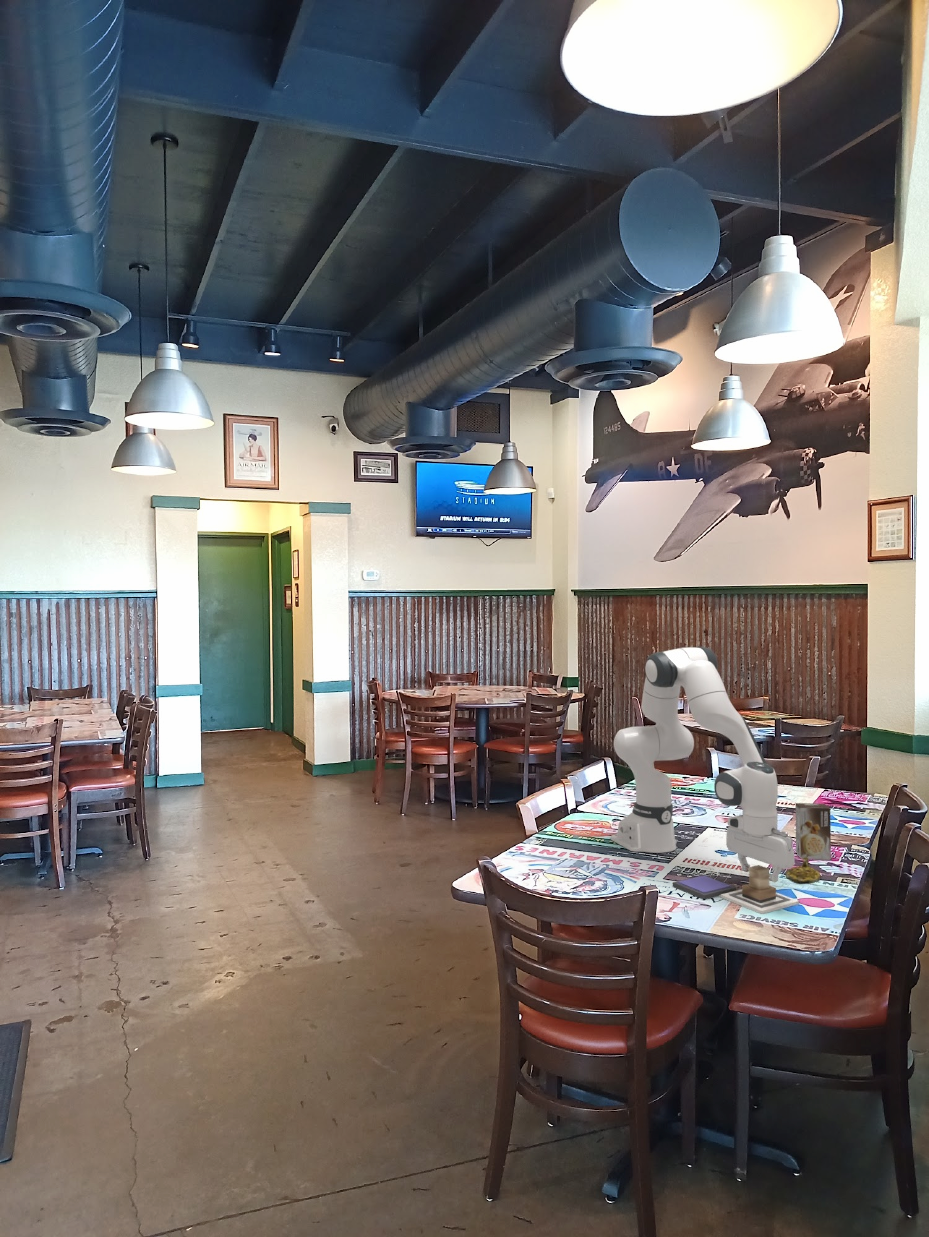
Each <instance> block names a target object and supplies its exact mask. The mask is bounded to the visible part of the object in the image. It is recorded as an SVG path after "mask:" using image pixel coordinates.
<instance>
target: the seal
mask: <svg viewBox="0 0 929 1237" xmlns="http://www.w3.org/2000/svg"><path fill="white" fill-rule="evenodd" d="M784 875H785V878H786V879H787V880H789V881H790V882H793V883H794V884H800V885H801V884H802V885H803V884H805V885H806V884H808V885H809V884H810V885H811V884H816V883H819V881H820V880H821V878H822V876H821V873H820V872H819V871H818V870H817V869H815V868H813V867H811V866H810V863H809V859H808V858H807V857H804V858H803V859H802V864H801V865H799V866H795V867H794V866H793V867H792V868H788V869H787V871H785V874H784ZM815 882H816V883H815Z"/></svg>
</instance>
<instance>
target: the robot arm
mask: <svg viewBox="0 0 929 1237" xmlns="http://www.w3.org/2000/svg"><path fill="white" fill-rule="evenodd" d="M718 665H719V663H718V659H717V656H716V654H715V652H714V651H713V650H712V649H711V648H709V647H705V646H696V647H695V646H694V647H693V646H692V647H690V646H689V647H678V648H674V649H669V650H665V651H657V652H654V653H651V654H650V655H649V656H647V658H646V661H645V664H644V674H645V679H644V684H643V691H642V692H643V693H642V696H641V697H642V699H641V706H640V707H641V713H643V715H644V716H645V717H646V718H647V719H648V720H650V721H652V722H654V723H655V725H652V726H651V725H648V726H646V725H645V726H641V725H640V726H629V727H626V728H622V729H619V730H618V731H617V733H615V735H614V738H613V739H614V740H613V749H614V751H615V753H616V755H617V756H618V757H619V758H620V759H621V760H622V761H623V762H625V763H626V764H627V765H628V767H629V768H630V770H631V771H632V774H633V777H634V782H635V800H636V801H634V802H630V807H632V810H631V811H632V812H630V813H629V814H628V815H627V816H625V817H624V818H622V819H621V820H620V821H619V823H618V825H617V833H614V834H612V835H611V836H610V841H612V842H614V843H616V844H618V845H620V846H621V847H623V848H625V849H627V850H628V851H631V852H637V853H638V852H640V853H641V852H643V853H644V852H645V853H651V854H653V853H654V854H655V853H657V854H658V853H659V854H661V853H670V852H673V851H676V850H677V843H678V842H677V839H676V836H675V826H674V819H673V815H674V812H673V811H674V808H673V807H674V805H673V803H672V780H671V779H670V777H669V776H668V775H667V774H665V773H664V772H662V771H661V770H658V769H655V765H654V762H656V761H676V760H681V759H684V758H688V757H689V756H690V755H691V754H692V752H693V750H694V748H695V739H694V736H693V734H692V732H691V731H690V730H689V729H688V728H687V727H685V726H684V725H683V723H682V722H681V720H680V719H679V714H678V710H679V709H678V708H679V701H680V693H681V687H682V688H683V689H684V690H683V691H684V692H685V697H686V701H687V704H688V708H689V711H690V714H691V716H692V717H693V720H694V721H695V722H696V723H697V724H698V725H699V726H701V727H702V728H704V729H706V730H708V731H711V732H715V733H719V734H721V735H723V736H724V737H726V738H727V739H729V740H730V741H731V742H732V743H733V745H734V748H735V749H736V751H737V754H738V756H739V759H740V760H741V762H742V765H743V766H740V767H739V768H735V769H728V770H725V771H722V772H720V773H718V774H717V776H716V777H715V780H714V783H713V784H714V785H713V786H714V787H713V788H714V793H715V795H716V798H717V800H718V801H719V802H720V803H721V804H723V805H724V806H729V807H736V806H737V807H741V809H742V814H740V815H736V816H731V817H728V818H727V822H726V824H727V825H728V827H727V830H726V840H725V841H726V847H727V850H728V851H730V852H731V853H735V854H737V858H738V860H739V863H740V866H741V868H740V869H741V871H742V872H744V873H749V867H751V865H750V864H749V863H748V860H747V858H750V859H753V860H755V861H759V862H762V863H765V864H766V865H770V866H772V870H773V871H772V873H769V882H773V883H777V882H778V881H779V875H780V874H781V872H782V871H783V870H789V869H791V868H794V866H795V858H796V857H795V850H794V845H793V842H794V841H793V838H792V837H791V836H790V834H789V833H788V832H786V831H781V830H779V829H778V814H779V813H778V810H777V802H778V798H779V797H778V796H779V792H778V789H779V788H778V786H779V785H778V783H779V782H778V779H777V774H776V771H775V768H774V767H773V766H771V765H770V764H768V763H767V761H766V760H765V758H764V755H763V753H762V751H761V749H760V747H759V744H758V743H757V741H756V739H755V736H754V734H753V732H752V730H751V728H750V727H749V724H748V723H747V721H746V719H745V718H744V716H742V714H741V713H739V712H738V711H737V710H736V708H735V707H734V705H733V704H732V702H731V700H730V698H729V696H728V693H727V691H726V688H725V685H724V681H723V680H722V678H721V676H720V673H719V672H718V667H719V666H718Z"/></svg>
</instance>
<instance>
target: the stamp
mask: <svg viewBox="0 0 929 1237" xmlns="http://www.w3.org/2000/svg"><path fill="white" fill-rule="evenodd" d="M769 874H770V868H769V867H766V866H763V865H761V864H757V865H753V866H750V867H749V872H748V883H747V884H742V886H741V887H742V896H743V897H745V898H748V899H750V900H753V901H756V902H758V903H763V902H767V901H771V900H774V899H776V893H777V887H774V886H771V885H770V880H769V878H770V877H769Z"/></svg>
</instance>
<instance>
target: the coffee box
mask: <svg viewBox="0 0 929 1237" xmlns="http://www.w3.org/2000/svg"><path fill="white" fill-rule="evenodd" d="M831 822H832V821H831V808H830V806H828V805H826V804H825V803H813V802H812V803H807V802H805V803H803V802H795V854H796V853H797V854H796V855H797V857H798V856H799V857H800V858H801V859H800V858H799V857H798V858H799V859H800V860H803V858H804V857H807V858H808V860H812V859H813V860H816V861H817V860H818V861H819V860H820V861H823V860H824V861H832V855H831V854H832V845H831V844H832V843H831V841H832V839H831V838H832V837H831V836H832V835H831V834H832V833H831V832H832V831H831V830H832V828H831Z"/></svg>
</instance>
